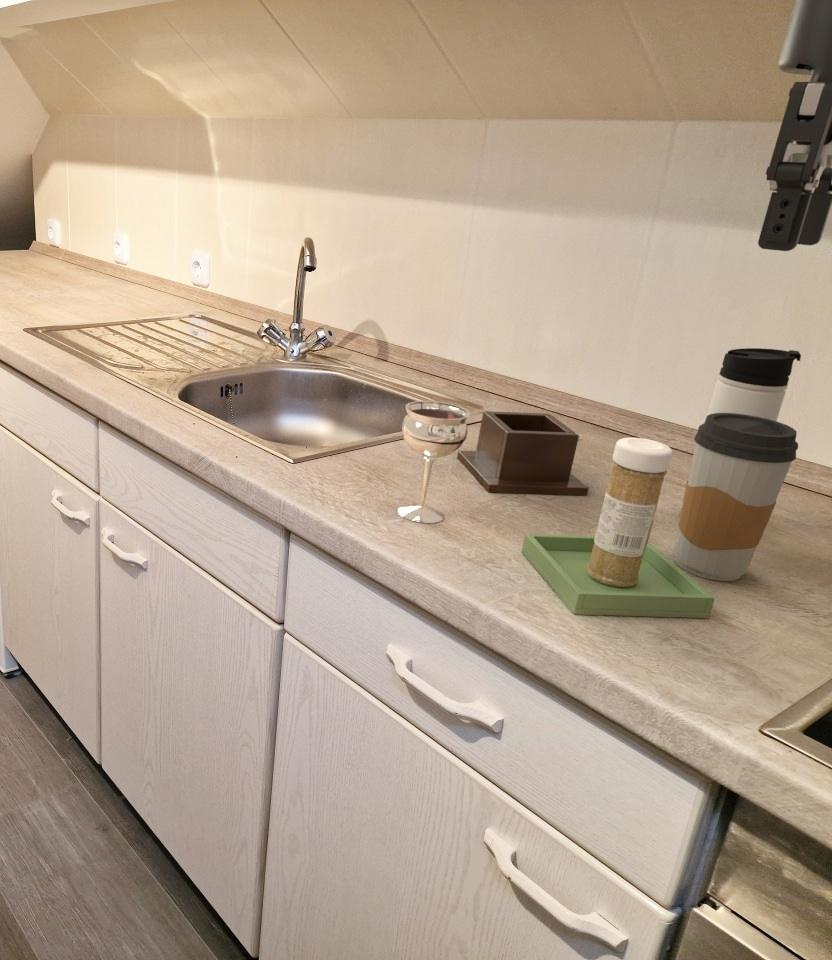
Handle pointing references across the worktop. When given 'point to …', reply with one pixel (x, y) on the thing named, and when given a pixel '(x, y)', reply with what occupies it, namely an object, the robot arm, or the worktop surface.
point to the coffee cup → (731, 492)
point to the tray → (652, 596)
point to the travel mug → (753, 382)
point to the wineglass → (432, 445)
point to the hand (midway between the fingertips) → (788, 246)
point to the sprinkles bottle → (628, 510)
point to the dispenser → (524, 455)
